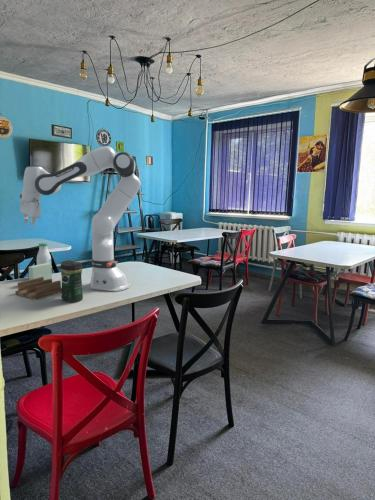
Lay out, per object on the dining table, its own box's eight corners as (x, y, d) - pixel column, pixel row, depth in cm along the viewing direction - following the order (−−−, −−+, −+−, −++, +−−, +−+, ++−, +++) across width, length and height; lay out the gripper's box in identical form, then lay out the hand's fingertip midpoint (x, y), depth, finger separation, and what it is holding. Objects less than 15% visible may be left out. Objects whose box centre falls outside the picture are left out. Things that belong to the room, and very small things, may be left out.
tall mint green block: (51, 280, 192) (51, 263, 190) (33, 285, 181) (32, 267, 180) (48, 280, 193) (47, 262, 192) (29, 285, 183) (28, 266, 181)
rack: (63, 291, 174) (63, 280, 173) (36, 299, 160) (35, 288, 159) (43, 286, 181) (42, 276, 180) (15, 294, 167) (14, 283, 166)
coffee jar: (86, 299, 163) (85, 261, 159) (72, 304, 156) (71, 263, 153) (72, 295, 168) (71, 258, 164) (58, 299, 161) (57, 260, 158)
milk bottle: (46, 279, 194) (45, 244, 191) (34, 278, 196) (32, 243, 192) (54, 276, 202) (53, 242, 198) (42, 275, 203) (41, 241, 200)
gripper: (45, 200, 172) (42, 227, 175) (30, 195, 187) (28, 220, 189) (32, 199, 168) (29, 227, 170) (18, 194, 183) (16, 220, 185)
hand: (29, 223), depth 180 cm, fingers open, 8 cm apart
